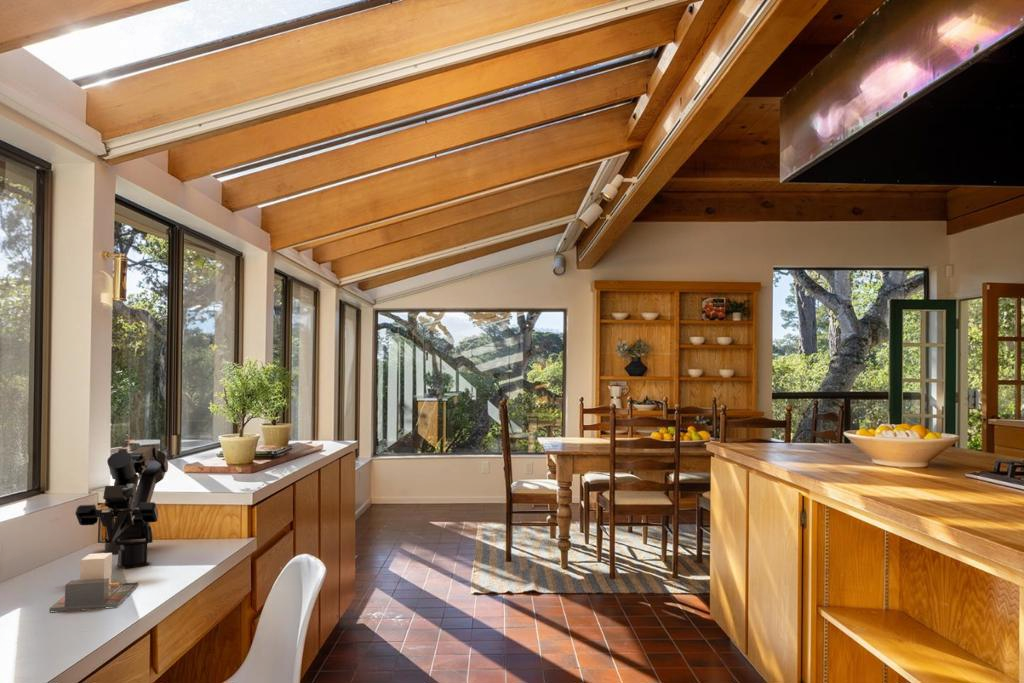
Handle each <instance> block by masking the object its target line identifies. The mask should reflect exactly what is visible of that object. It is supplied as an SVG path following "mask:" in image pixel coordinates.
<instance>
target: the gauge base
mask: <svg viewBox="0 0 1024 683" xmlns="http://www.w3.org/2000/svg"><path fill="white" fill-rule="evenodd" d="M118 583H119V586H111V590H110V591H109V592H108V589H109V578H105V579H89V580H80V579H75V580H73V579H72V580H70V581H68V582H67V583H66V584H64V586H65V589H64V596H63V597H62V598H60V599H59V600H58V601H57V602H55V603H54V604H53V605H52V606H51V607H49V612H51V611H65V612H69V611H68V610H79V611H83V610H82V609H92V610H97V609H96V608H106V607H118V606H119V605H120V604H121V603H122V602H123V601H124V600H125V599H126V598H127V597H129V596H131V594H132V593H134V591H135V590H136V589H137V588H138V587H139V582H124V583H123V582H118ZM137 586H138V587H137ZM136 587H137V588H136ZM127 599H128V598H127ZM127 599H126V600H127ZM126 600H125V601H126ZM125 601H124V602H125ZM124 602H123V603H124ZM123 603H122V604H123ZM122 604H121V605H122ZM121 605H120V606H121ZM120 606H119V607H120ZM119 607H118V608H119ZM106 609H107V608H106ZM51 613H52V612H51Z"/></svg>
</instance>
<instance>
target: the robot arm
mask: <svg viewBox="0 0 1024 683" xmlns="http://www.w3.org/2000/svg"><path fill="white" fill-rule="evenodd" d="M106 462H107V465H108V469H109V472H110V475H111V478H112V480H114V482H113V485H105V487H104V491H103V496H102V498H103V500H105V501H104V506H105V507H101V509H97V507H96V504H80V505H78V507H76V510H75V516H76V519H77V522H78V524H79V525H81V526H94V525H96V524H98V522H99V518H100V519H101V526H102V527H107V533H108V534H107V540H109V542H113V541H114V540H115V543H116V546H117V545H120V550H118V554H117V564H116V566H118V567H121V568H123V569H131V568H137V567H141V566H147V565H150V562H149V561H148V545H149V544H151V543H153V539H154V538H153V536H154V535H153V529H152V527H151V523H156V522H158V518H159V510H158V506H157V503H155V502H154V501H153V502H151V501H152V497H153V494H154V491H155V487H156V485H157V484H158V483H160V482H161V481H162V480H163V479H164V477H165V475H166V473H167V472H168V470H169V461H168V458H167V455H166V454H165V453H163V452H162V451H161V450H159V447H158V445H155V444H142V445H139V446H138V447H137V448H136V449H135V450H134V451H132V452H129V451H128V448H119V449H118V451H117V452H115V453H112V454H111V455H110V456H109V457H108V458H107V461H106ZM115 517H117V520H116V523H115V519H114V518H115Z"/></svg>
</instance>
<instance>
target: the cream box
mask: <svg viewBox="0 0 1024 683" xmlns="http://www.w3.org/2000/svg"><path fill="white" fill-rule="evenodd" d="M112 565H113V554H112V553H104V552H101V553H89V554H87V555H86V556H84V557H83V558H82V559H81V560H80V576H79V577H80V579H79V580H89V579H105V578H109V589H108V592H109V591H110V590H111V586H119V583H120V582H112V568H113V567H112Z"/></svg>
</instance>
